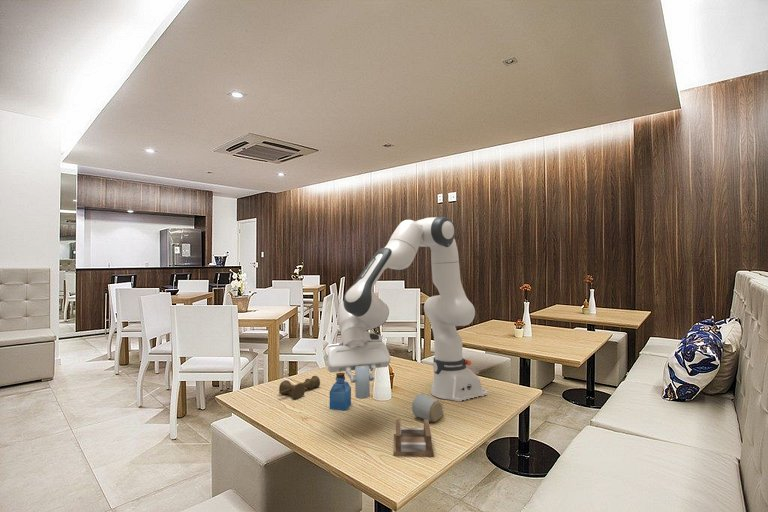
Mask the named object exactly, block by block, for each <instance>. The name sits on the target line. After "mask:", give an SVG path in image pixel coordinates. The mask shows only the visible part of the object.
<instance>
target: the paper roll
mask: <svg viewBox="0 0 768 512" xmlns="http://www.w3.org/2000/svg"><path fill="white" fill-rule="evenodd" d="M354 371H355V372H354V375H356V382H355V383H354V385H355V386H354V388H355V390H354V391H355V393H354V394H355V395H354V397H355V398H356V399H359V400H362V399H363V400H364V399H365V400H366V399H368V398H370V395H371V390H370V384H371V383H370V376H369V373H370V369H369V366H368V365H360V366H356V367H355V370H354Z"/></svg>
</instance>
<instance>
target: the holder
mask: <svg viewBox="0 0 768 512" xmlns="http://www.w3.org/2000/svg"><path fill="white" fill-rule="evenodd" d="M401 426H402V425H401V418H395V433H393V451H392V453H393V454H392V456H395V457H397V456H399V457H434V455H435V454H434V452H435V451H434V447H433V442H432V432H431V428H430V427H431V425H430V421H429V420H428V419H423V427H401Z"/></svg>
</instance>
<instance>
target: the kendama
mask: <svg viewBox="0 0 768 512" xmlns="http://www.w3.org/2000/svg"><path fill="white" fill-rule="evenodd" d="M320 385H321V379H320V377H319V376H318V375H313V376H311V377H310V378H305V380H304V381H303V382H298V383H296V384H292V383H291V382H290V381H289V380H287V379H286V380H283V381H282V382H280V384H279V389H278V391H279V392H278V394H279V395H282V396H283V395H287V394H291V395H292V396H293V398H294V400H295V399H296V400H300V399H302V398H303V397H304V395H305V393H306V389H307V390H311V389H312V388H316V389H318V388H320ZM301 397H302V398H301Z"/></svg>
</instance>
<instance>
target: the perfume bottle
mask: <svg viewBox="0 0 768 512" xmlns="http://www.w3.org/2000/svg"><path fill="white" fill-rule="evenodd" d="M335 375H336V376H335V382H334V383H333V385H332V386H331V389H330V390H329V410H335V411H347V410H348V409H349V408H350V406H351V405H352V387H351V385H350V383H349V382H348V381H346V376H345V375H346V373H345V372H335Z"/></svg>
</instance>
